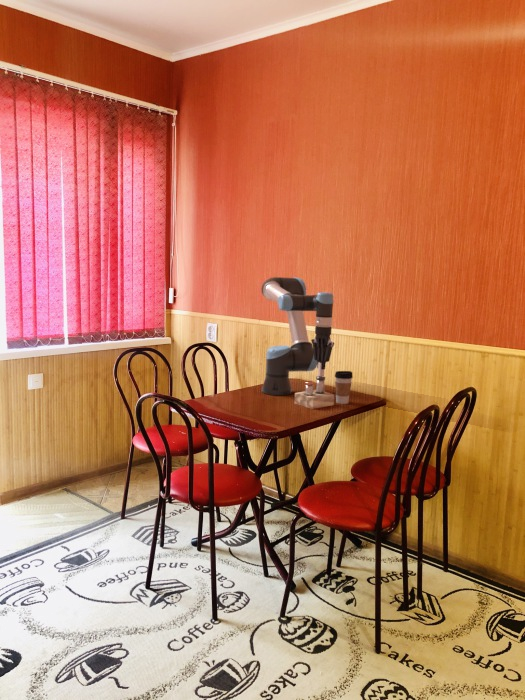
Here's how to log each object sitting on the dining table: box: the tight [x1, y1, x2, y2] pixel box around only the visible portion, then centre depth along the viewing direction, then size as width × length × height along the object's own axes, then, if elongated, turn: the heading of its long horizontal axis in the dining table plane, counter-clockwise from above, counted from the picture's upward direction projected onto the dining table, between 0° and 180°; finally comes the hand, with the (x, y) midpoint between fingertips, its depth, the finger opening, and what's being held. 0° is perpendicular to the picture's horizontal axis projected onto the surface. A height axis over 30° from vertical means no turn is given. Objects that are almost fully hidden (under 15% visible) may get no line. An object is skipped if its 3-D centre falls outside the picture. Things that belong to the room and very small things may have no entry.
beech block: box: [293, 389, 335, 410], centre depth 267 cm, size 12×14×5 cm
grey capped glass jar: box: [315, 375, 326, 394], centre depth 268 cm, size 4×4×9 cm
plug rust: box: [304, 380, 315, 396], centre depth 264 cm, size 4×4×9 cm
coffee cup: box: [334, 370, 353, 405], centre depth 272 cm, size 8×8×15 cm
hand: (320, 375), depth 268 cm, fingers closed
